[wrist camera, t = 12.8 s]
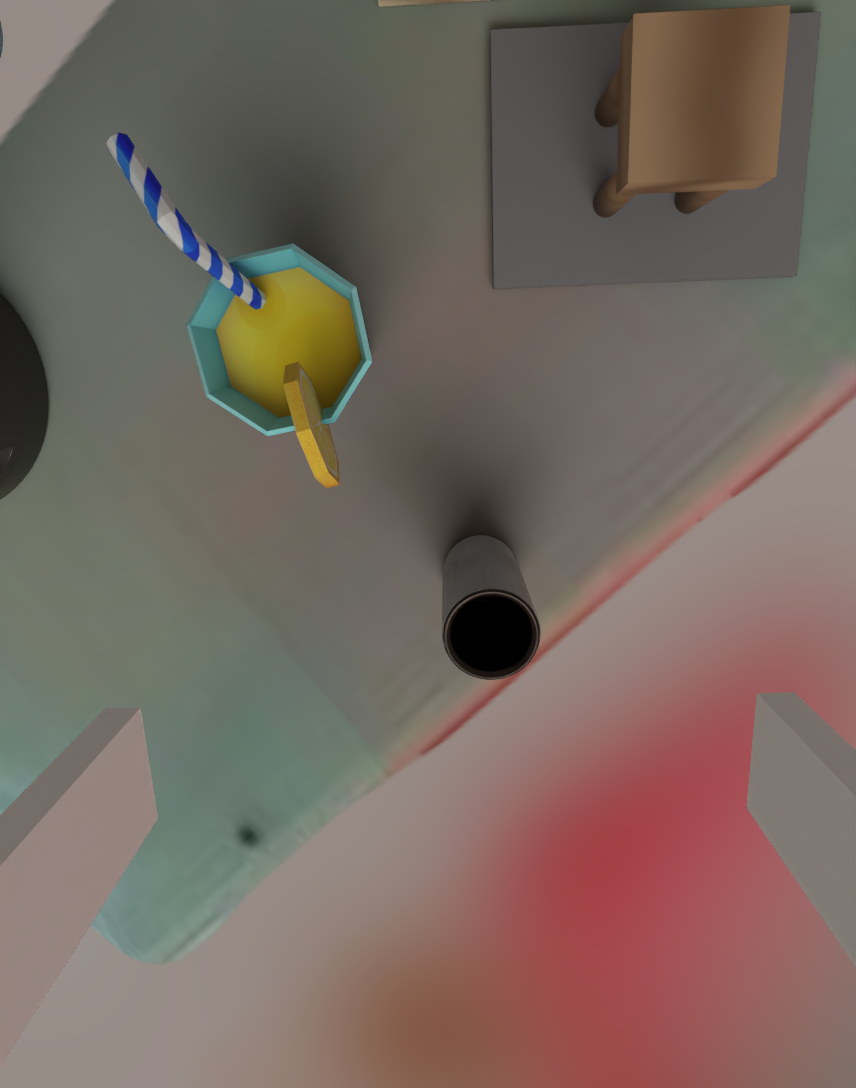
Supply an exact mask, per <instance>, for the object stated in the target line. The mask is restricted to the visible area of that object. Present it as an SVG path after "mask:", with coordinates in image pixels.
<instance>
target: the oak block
mask: <svg viewBox="0 0 856 1088" xmlns="http://www.w3.org/2000/svg"><path fill="white" fill-rule="evenodd" d="M470 1H488V0H378V5H379V7H380V6H398V5H416V4H434V3H452V2H470Z"/></svg>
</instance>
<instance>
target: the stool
mask: <svg viewBox="0 0 856 1088" xmlns="http://www.w3.org/2000/svg"><path fill="white" fill-rule="evenodd" d="M789 16H790V5H783V6H765V7H747V8H728V9H710V10H692V11H673V12H655V13H636V14H633V16H632V17H631V19H630V21H629V23H628V25H627V27H626V29H625V30H624V32H623V34H622V36H621V45H620V66H619V67H618V69H617V71H616V72H615V74H614V76H613V78H612V79H611V81H610V83H609V84H608V86H607V88H606V90H605V91H604V93H603V95H602V96H601V98H600V100H599V101H598V103H597V105H596V107H595V119H596V121H597V122H598V124H599V125H601V126H603V127H612V126H614V125H616V124H617V123H618V149H617V171H616V172H615V173H614V174H613V175H612V176H611V178H610V179H609V180H608V181H607V182H606V183H605V184H604V185H603V187H602V188H601V189H600V190H599V191H598V192H597V193H596V195H595V196H594V199H593V209H594V211H595V213H596V214H597V215H598V216H600V217H604V218H607V217H610V216H612V215H614V214H615V213H616V212H617V211H618V210H619V209H621V208H622V207H623V206H624V205H625V204H626V203H627V202H628V201H630V200H631V199H632V198H633V197H634V196H635V195H636V194H651V193H673V192H676V194H675V198H674V203H675V207H676V208H677V210H678V211H679V212H681V213H683V214H690V213H693V212H694V211H696V210H698V209H699V208H701V207H702V206H704V205H706V204H707V203H709V202H711V201H712V200H714V199H716V198H717V197H719V196H720V195H722V194H724V193H725V192H727V191H729V190H738V189H755V188H757V187H759V186H761V185H762V184H764V183H766V182H768V181H769V180H771V179H773V178H775V177H776V175H777V163H778V151H779V138H780V126H781V114H782V102H783V90H784V77H785V65H786V53H787V41H788V29H789Z"/></svg>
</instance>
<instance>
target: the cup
mask: <svg viewBox="0 0 856 1088" xmlns="http://www.w3.org/2000/svg"><path fill="white" fill-rule="evenodd" d="M106 144H107V146H108V149H109V151H110V153H111V154H112V156H113V157H114V159H115V160H116V162H117V164H118V165H119V167H120V168H121V170H122V171H123V173H124V175H125V176H126V178H127V179H128V181H129V182H130V184H131V185H132V187H133V189H134V190H135V192H136V193H137V195H138V196H139V198H140V200H141V201H142V203H143V204H144V206H145V207H146V209H147V211H148V212H149V214H150V215H151V217H152V218H153V220H154V222H155V223H156V225H157V226H158V227H159V228H160V229H161V230H162V231H163V232H164V233H165V234H166V235H167V236H168V237H169V239H170V240H171V241H172V242H173V243H174V244H175V245H176V246H177V247H178V248H179V249H180V250H181V251H183V252H184V253H185V254H186V255H188V256H189V257H190V258H191V259H192V260H194V261H195V262H196V263H197V264H199V265H200V266H201V267H202V268H204V269H205V270H206V271H207V272H209V273H210V274H211V275H212V278H211V280H210V282H209V284H208V286H207V287H206V289H205V291H204V293H203V295H202V297H201V299H200V300H199V302H198V304H197V306H196V308H195V310H194V312H193V313H192V315H191V317H190V319H189V321H188V323H187V328H188V332H189V335H190V339H191V342H192V346H193V350H194V353H195V357H196V360H197V364H198V368H199V371H200V375H201V378H202V382H203V386H204V389H205V393H206V396H207V397H208V398H209V399H211V400H212V401H214V402H215V403H217V404H218V405H220V406H222V407H223V408H225V409H226V410H228V411H229V412H231V413H232V414H234V415H235V416H237V417H239V418H240V419H242V420H243V421H245V422H246V423H248V424H249V425H251V426H252V427H254V428H256V429H257V430H259V431H260V432H262V433H263V434H265V435H266V436H271V435H275V434H280V433H285V432H290V431H296V434H297V437H298V439H299V441H300V444H301V446H302V448H303V451H304V453H305V455H306V458H307V460H308V462H309V465H310V467H311V469H312V472H313V474H314V476H315V478H316V479H317V480H318V481H319V482H320V483H321V484H323V485H324V486H325V487H326V488H330V487H333V486H336V485H340V484H339V466H338V459H337V455H336V452H335V448H334V444H333V441H332V437H331V433H330V430H329V426H328V424H329V423H333V422H335V421H336V420H337V418H338V416H339V415H340V413H341V412H342V410H343V408H344V407H345V405H346V403H347V402H348V400H349V399H350V397H351V395H352V394H353V392H354V390H355V389H356V387H357V386H358V384H359V382H360V381H361V379H362V378H363V376H364V374H365V373H366V371H367V369H368V368H369V366H370V365H371V363H372V358H371V353H370V349H369V344H368V339H367V335H366V330H365V325H364V321H363V316H362V312H361V307H360V302H359V298H358V293H357V288H356V286H354V285H353V284H351V283H350V282H348V281H347V280H345V279H344V278H342V277H341V276H340V275H338V274H337V273H335V272H334V271H332V270H331V269H329V268H328V267H327V266H325V265H324V264H322V263H321V262H319V261H318V260H316V259H315V258H313V257H312V256H311V255H309V254H308V253H306V252H305V251H303V250H302V249H300V248H299V247H298V246H296V245H295V244H293V243H292V244H288V245H284V246H279V247H275V248H270V249H266V250H262V251H257V252H253V253H248V254H244V255H240V256H235V257H231V258H226V259H224V258H223V257H222V256H221V255H220V254H219V253H217V252H216V251H215V250H214V249H213V248H212V247H211V246H210V245H208V244H207V243H206V242H205V241H204V240H203V239H202V238H200V237H199V236H198V235H197V234H196V233H195V232H194V230H193V229H192V228H191V227H190V226H189V225H188V224H187V223H186V221H185V220H184V218H183V217H182V216H181V214H180V213H179V212H178V210H177V209H176V207H175V206H174V204H173V203H172V201H171V200H170V198H169V197H168V195H167V194H166V192H165V191H164V189H163V188H162V186H161V185H160V183H159V182H158V180H157V179H156V177H155V176H154V174H153V173H152V171H151V170H150V168H149V167H148V165H147V164H146V162H145V161H144V159H143V158H142V156H141V155H140V153H139V152H138V150H137V149H136V147H135V146H134V144H133V143H132V141H131V140H130V138H129V137H128V135H125V134H122V133H117V134H115V135H112V136H110V138H109V140H108V141H107V143H106Z"/></svg>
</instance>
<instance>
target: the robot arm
mask: <svg viewBox="0 0 856 1088" xmlns="http://www.w3.org/2000/svg"><path fill="white" fill-rule="evenodd" d="M2 47H3V34H2V27H1V22H0V57H1V53H2ZM47 417H48V395H47V386H46V380H45V375H44V371H43V368H42V364H41V361H40V358H39V355H38V352H37V350H36V348H35V345H34V343H33V341H32V339H31V337H30V335H29V333H28V331H27V330H26V328H25V326H24V325H23V323H22V321H21V320H20V318H19V317H18V316H17V314H16V313H15V311H14V310H13V309H12V308H11V306H10V305H9V304H8V303H7V302H6V300H5V299H4V298H3V297H2V296H1V295H0V499H2V498H3V497H5V496H6V495H7V494H9V493H10V492H11V491H12V490H13V489H14V488H16V487H17V486H18V484H19V483H20V482H21V481H22V480H23V479H24V478H25V476H26V475H27V474H28V472H29V471H30V469H31V468H32V466H33V464H34V462H35V460H36V459H37V456H38V454H39V452H40V449H41V446H42V443H43V440H44V436H45V432H46V426H47ZM747 809H748V810H749V812H750V813H751V815H752V816H753V818H754V819H755V821H756V822H757V824H758V825H759V826H760V828H761V829H762V831H763V832H764V834H765V835H766V837H767V838H768V840H769V841H770V843H771V844H772V846H773V847H774V848H775V850H776V851H777V853H778V854H779V856H780V857H781V859H782V860H783V862H784V863H785V865H786V866H787V867H788V869H789V870H790V872H791V873H792V875H793V876H794V878H795V879H796V881H797V882H798V884H799V885H800V886H801V888H802V889H803V891H804V892H805V894H806V895H807V897H808V898H809V900H810V901H811V903H812V904H813V906H814V907H815V908H816V910H817V911H818V913H819V914H820V916H821V917H822V919H823V920H824V922H825V923H826V925H827V926H828V928H829V929H830V930H831V932H832V933H833V935H834V936H835V938H836V939H837V941H838V942H839V944H840V945H841V946H842V948H843V949H844V951H845V952H846V954H847V955H848V957H849V958H850V960H851V961H852V963H853V964H854V965H855V967H856V750H855V749H854V748H853V747H852V746H851V745H850V744H849V743H848V742H846V741H845V740H844V739H843V738H842V737H841V736H840V735H839V734H838V733H837V732H836V731H835V730H834V729H833V728H832V727H830V726H829V725H828V724H827V723H826V722H825V721H824V720H823V719H822V718H821V717H820V716H819V715H817V713H816V712H815V711H813V710H812V709H811V708H810V707H809V706H808V705H807V704H806V703H805V702H804V701H803V700H802V699H800V697H798V696H797V695H796V694H795V693H757V701H756V711H755V722H754V734H753V745H752V755H751V767H750V777H749V788H748V799H747ZM157 819H158V816H157V809H156V803H155V797H154V790H153V784H152V778H151V771H150V765H149V759H148V752H147V746H146V740H145V733H144V727H143V721H142V714H141V708H106V709H105V710H104V711H103V712H102V713H101V714H100V715H99V716H98V717H97V718H96V719H95V720H94V721H93V722H92V723H91V724H90V725H89V726H88V727H87V728H86V729H85V730H84V731H83V732H82V733H81V734H80V735H79V736H78V737H77V738H76V739H75V740H74V741H73V742H72V743H71V744H70V745H69V746H68V747H67V748H66V749H65V750H64V751H63V752H62V753H61V754H60V755H59V756H58V757H57V758H56V759H55V760H54V761H53V762H52V763H51V764H50V765H49V766H48V767H47V768H46V769H45V770H44V771H43V772H42V774H41V775H40V776H39V777H38V778H37V779H36V780H35V781H34V782H33V783H32V784H31V785H30V786H29V787H28V788H27V789H26V790H25V791H24V792H23V793H22V794H21V795H20V796H19V797H18V798H17V799H16V800H15V801H14V802H13V803H12V804H11V805H10V806H9V807H8V808H7V809H6V810H5V811H4V812H3V813H2V814H1V815H0V1068H1V1066H2V1065H3V1063H4V1061H5V1060H6V1058H7V1057H8V1055H9V1053H10V1051H11V1050H12V1049H13V1047H14V1046H15V1044H16V1042H17V1041H18V1039H19V1038H20V1036H21V1034H22V1033H23V1031H24V1030H25V1028H26V1027H27V1025H28V1023H29V1022H30V1020H31V1019H32V1017H33V1015H34V1014H35V1012H36V1011H37V1009H38V1008H39V1006H40V1004H41V1003H42V1001H43V999H44V998H45V996H46V995H47V993H48V992H49V990H50V989H51V987H52V985H53V984H54V982H55V981H56V979H57V977H58V976H59V974H60V973H61V971H62V969H63V968H64V966H65V965H66V963H67V962H68V960H69V958H70V957H71V955H72V954H73V952H74V950H75V949H76V947H77V946H78V944H79V942H80V941H81V939H82V938H83V936H84V935H85V933H86V931H87V930H88V928H89V927H90V925H91V924H92V922H93V920H94V919H95V917H96V916H97V914H98V912H99V911H100V909H101V908H102V906H103V905H104V903H105V901H106V900H107V898H108V897H109V895H110V893H111V892H112V890H113V889H114V887H115V886H116V884H117V882H118V881H119V879H120V878H121V876H122V874H123V873H124V871H125V870H126V868H127V867H128V865H129V863H130V862H131V860H132V859H133V857H134V855H135V854H136V852H137V851H138V849H139V848H140V846H141V844H142V843H143V841H144V840H145V838H146V836H147V835H148V833H149V832H150V830H151V829H152V827H153V825H154V824H155V822H156V821H157Z"/></svg>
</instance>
